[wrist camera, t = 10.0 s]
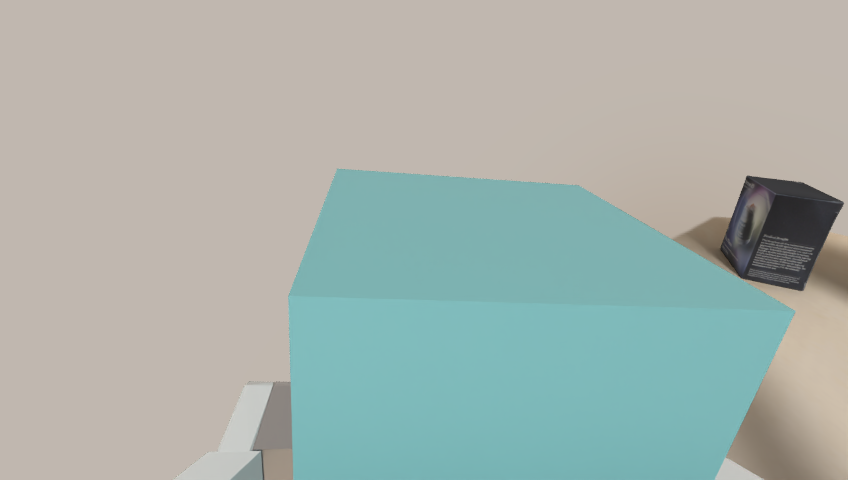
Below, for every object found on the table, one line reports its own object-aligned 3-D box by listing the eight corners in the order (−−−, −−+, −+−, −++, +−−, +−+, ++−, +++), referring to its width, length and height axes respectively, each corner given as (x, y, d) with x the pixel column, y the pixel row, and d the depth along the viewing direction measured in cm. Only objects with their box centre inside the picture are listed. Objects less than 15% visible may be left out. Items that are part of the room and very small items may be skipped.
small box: (715, 248, 58) (743, 173, 54) (771, 259, 56) (805, 182, 52) (737, 278, 49) (773, 190, 45) (805, 292, 47) (849, 202, 43)
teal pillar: (502, 512, 13) (578, 185, 9) (574, 769, 8) (795, 311, 4) (330, 519, 12) (337, 168, 8) (301, 803, 7) (288, 296, 4)
